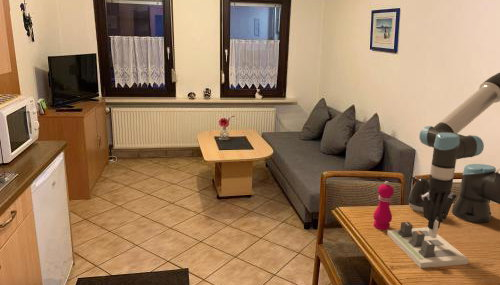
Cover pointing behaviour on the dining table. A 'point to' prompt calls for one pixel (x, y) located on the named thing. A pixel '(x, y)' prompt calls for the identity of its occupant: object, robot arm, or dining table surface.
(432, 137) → the robot arm
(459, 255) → the panel
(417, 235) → the breaker
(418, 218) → the dining table surface
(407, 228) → the breaker
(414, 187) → the black glossy egg shape
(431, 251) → the breaker
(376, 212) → the pepper mill
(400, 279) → the dining table surface
